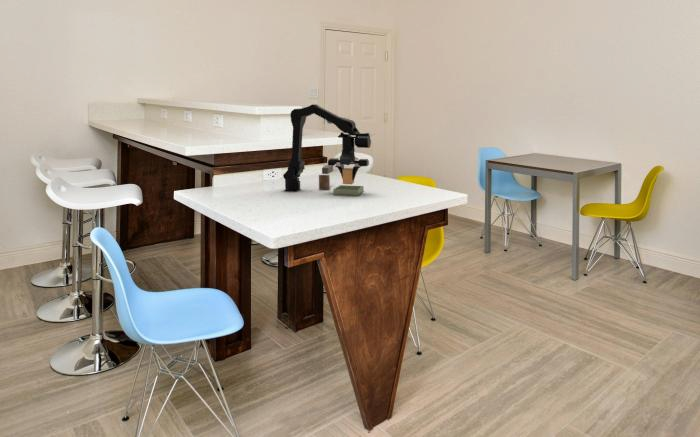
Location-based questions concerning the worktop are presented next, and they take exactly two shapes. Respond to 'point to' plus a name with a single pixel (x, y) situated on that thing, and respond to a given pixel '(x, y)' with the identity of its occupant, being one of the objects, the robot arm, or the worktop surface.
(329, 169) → the dark gray block
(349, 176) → the orange brown block
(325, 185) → the wood grain block
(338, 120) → the robot arm
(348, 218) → the worktop surface
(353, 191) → the tray
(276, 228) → the worktop surface
